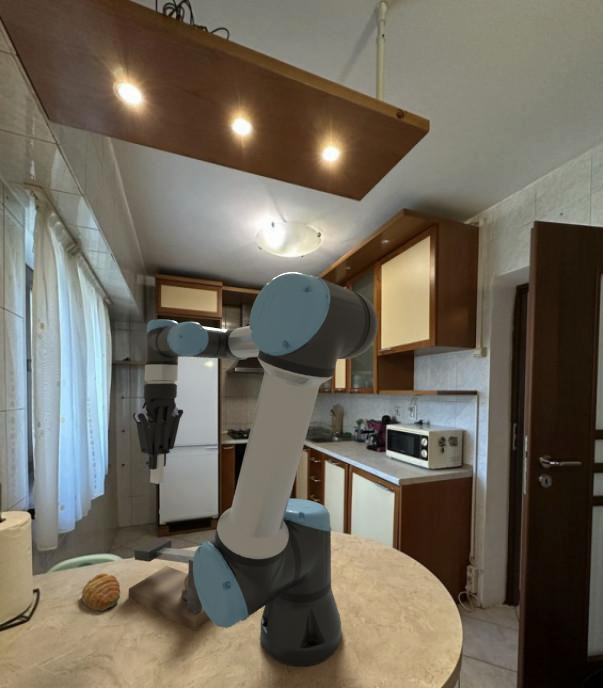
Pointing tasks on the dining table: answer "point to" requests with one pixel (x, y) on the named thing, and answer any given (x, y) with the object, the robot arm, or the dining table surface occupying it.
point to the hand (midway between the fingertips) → (156, 482)
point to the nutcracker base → (171, 596)
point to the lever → (162, 552)
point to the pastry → (101, 592)
